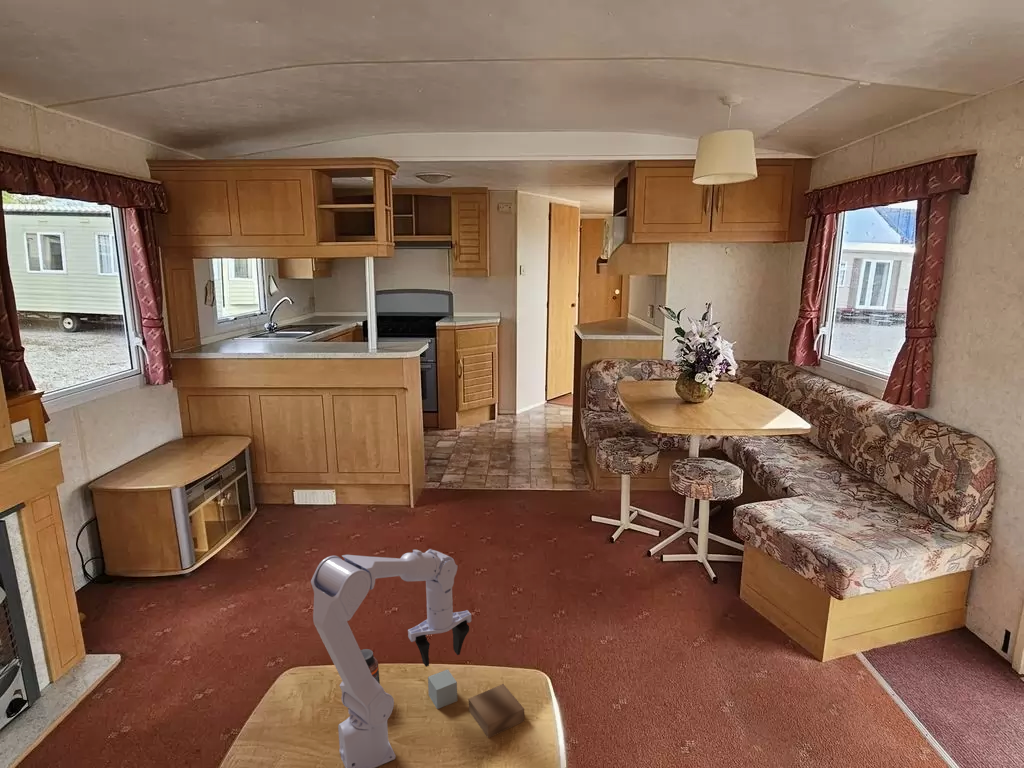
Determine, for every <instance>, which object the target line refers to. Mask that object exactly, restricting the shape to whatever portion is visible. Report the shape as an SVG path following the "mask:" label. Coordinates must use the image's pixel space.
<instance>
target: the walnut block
mask: <svg viewBox="0 0 1024 768" xmlns="http://www.w3.org/2000/svg"><path fill="white" fill-rule="evenodd" d="M468 713H469V714H470V715H471V716H472V718H473V719H474V721H475V722H476V723H477V724H478V726H479V727H480V729H481V731H482V732H483V733H484V735H485V736H486V737H487V738H488V739H489V738H491V737H494V736H497V735H498V734H500V733H502V732H504V731H507V730H508V729H511V728H513V727H515V726H517V725H519V724H520V723H523V722H525V708H524V706H522V704H521V702H519V700H517V698H516V697H515V695H513V693H512V692H511V691H510V689H508V688H507V686H506V685H505V684H504V683H502V684H499V685H496V686H495V687H492V688H490V689H489V690H485V691H483V692H481V693H479V694H475V695H474V696H472V697H469V698H468Z"/></svg>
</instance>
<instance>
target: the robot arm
mask: <svg viewBox="0 0 1024 768" xmlns="http://www.w3.org/2000/svg"><path fill="white" fill-rule="evenodd" d="M341 557H343V559H344V560H343V559H342V558H341ZM341 557H340V556H338V555H329V556H327V557H325V558H324V559H322V560H321V561H320V562H319V564H318V565H317V567H316V569H315V571H314V573H313V575H312V578H311V580H310V584H311V587H312V591H313V611H312V613H313V614H312V621H313V625H314V626H315V629H316V631H317V633H318V634H319V637H320V639H321V641H322V643H323V645H324V646H325V649H326V651H327V653H328V655H329V657H330V659H331V661H332V663H333V665H334V668H335V669H336V671H337V673H338V675H339V677H340V679H341V682H340V684H339V687H340V690H341V698H340V699H341V702H342V705H344V707H346V708H348V711H347V712H348V715H349V716H348V717H347V718H346V719H345V720H344V721H342V722H340V723H339V724H338V725H337V727H338V728H337V729H338V743H339V750H338V752H339V754H340V759H341V761H342V763H343V766H344V768H378V767H380V766H383V765H384V764H388V763H389V762H391V761H393V760H395V759H396V754H395V751H394V749H393V748H392V745H391V743H390V741H389V733H388V731H389V730H388V719H389V718H390V717H391V715H392V713H393V709H394V706H395V705H394V704H395V701H394V697H393V696H392V695H391V694H390V693H389V692H386V691H385V689H384V687H383V686H382V685H381V684H379V683H378V682H377V681H376V679H375V678H374V677H373V676H372V674H371V672H370V670H369V668H368V665H367V663H366V661H365V659H364V657H363V655H362V652H361V650H362V649H360V646H359V643H358V642H357V640H356V639H357V638H356V637H355V635H354V633H353V631H352V629H351V627H350V625H349V622H348V621H351V619H352V618H353V616H354V615H355V613H356V611H358V609H359V607H360V606H361V604H362V603H363V601H364V600H365V599H366V597H367V595H368V593H369V591H371V590H373V589H374V588H375V585H376V579H383V578H392V577H399V578H401V580H403V582H425V592H426V593H425V594H426V617H427V618H426V619H425V620H423V621H422V622H420V623H419V624H417V625H415V626H413V627H412V628H409V629H407V634H408V635H407V637H408V639H409V641H410V642H411V643H414V642H415V644H416V647H417V648H418V650H419V653H420V656H421V660H422V664H423V665H424V667H429V666H430V658H429V655H430V654H429V653H430V646H431V645H430V644H431V643H430V642H429V640H428V637H427V636H429V635H434V634H442V633H443V634H444V633H446V632H447V633H448V632H449V631H450V630H452V647H453V652H454V653H455V654H456V655H457V656H459V655H461V651H462V647H463V644H464V641H465V639H466V637H467V635H468V634H469V632H470V625H469V624H468V623H471V622H472V613H471V612H470V611H469V610H468V609H466V610H463V611H455V612H453V608H454V607H453V605H454V604H453V602H454V601H453V587H454V584H455V577H456V575H457V571H458V566H459V565H457V564H456V562H455V559H454V558H453V557H451V556H450V555H447V554H445V553H443V552H441V551H438V550H435V549H432V548H428V550H426V551H425V552H422V551H421V550H418V549H412V552H406V553H403V554H402V555H401V557H400V558H399V557H398V558H396V557H385V556H383V557H382V556H367V555H354V554H343V555H341Z"/></svg>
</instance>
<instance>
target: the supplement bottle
mask: <svg viewBox="0 0 1024 768" xmlns="http://www.w3.org/2000/svg"><path fill="white" fill-rule="evenodd" d="M360 650H361V652H362V655H363V657H364V659H365V661H366V663H367V665H368V668H369V670H370V672H371V674H372V676H373V677H374V678H375V679H376V681H377V682H378V683H379V684H380V683H381V682H380V670H379V661H378V659H377V658H376V657H375V655H374V651H373V650H372V649H371V648H370V649H368V648H364V649H360ZM380 685H381V684H380Z"/></svg>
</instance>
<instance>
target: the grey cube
mask: <svg viewBox="0 0 1024 768" xmlns="http://www.w3.org/2000/svg"><path fill="white" fill-rule="evenodd" d="M427 685H428V686H427V688H428V689H427V690H428V697H429V698H430V700H431V702H432V704H433V705H434V707H435V708H436V710H438V709H441V708H444V707H446V706H448V705H451V704H453V703H456V702H458V683H457V680H456V678H454V676H453V674H452V673H451V672H450V670H449V669H444V670H443V671H440V672H437V673H434V674H432V675H430V676H427Z"/></svg>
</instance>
